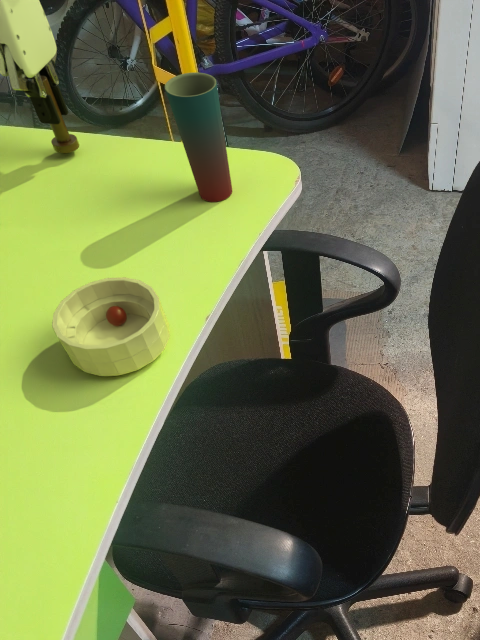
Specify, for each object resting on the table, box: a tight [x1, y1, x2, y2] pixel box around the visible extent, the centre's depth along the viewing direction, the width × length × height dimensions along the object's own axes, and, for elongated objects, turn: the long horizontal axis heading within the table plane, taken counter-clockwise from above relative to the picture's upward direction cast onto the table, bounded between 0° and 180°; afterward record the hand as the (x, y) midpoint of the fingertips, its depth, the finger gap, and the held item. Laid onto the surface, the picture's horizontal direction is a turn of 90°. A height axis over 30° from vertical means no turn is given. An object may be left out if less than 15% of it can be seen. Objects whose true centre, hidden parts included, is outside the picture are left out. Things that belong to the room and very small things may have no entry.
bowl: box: [51, 276, 171, 377], centre depth 70 cm, size 12×12×5 cm
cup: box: [164, 72, 233, 203], centre depth 83 cm, size 7×7×15 cm
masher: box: [31, 76, 80, 154], centre depth 92 cm, size 4×4×10 cm
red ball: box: [106, 306, 127, 326], centre depth 72 cm, size 2×2×2 cm
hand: (54, 117), depth 92 cm, fingers closed on masher, 2 cm apart
